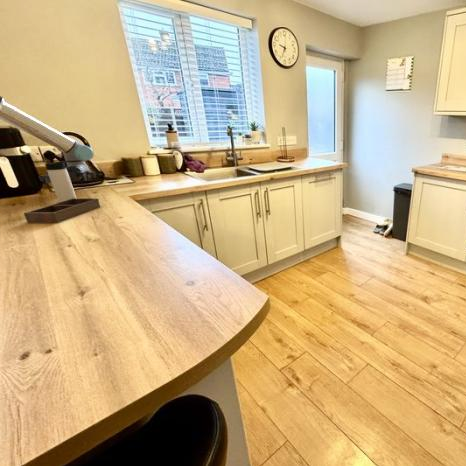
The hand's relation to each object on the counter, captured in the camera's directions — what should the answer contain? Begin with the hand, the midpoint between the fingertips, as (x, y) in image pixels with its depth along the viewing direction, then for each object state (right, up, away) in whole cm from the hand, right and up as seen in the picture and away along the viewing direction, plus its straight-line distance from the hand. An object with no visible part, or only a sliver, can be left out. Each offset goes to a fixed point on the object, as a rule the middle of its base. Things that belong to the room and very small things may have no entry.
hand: (64, 179), depth 134 cm
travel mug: (+4, -12, -1) cm, 13 cm away
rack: (+15, -17, -14) cm, 27 cm away
